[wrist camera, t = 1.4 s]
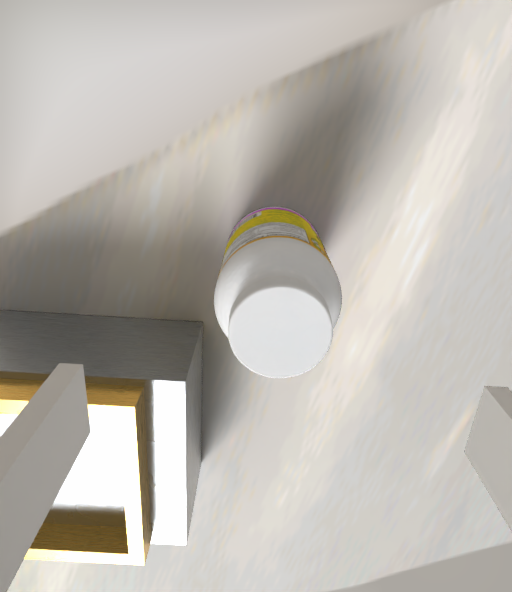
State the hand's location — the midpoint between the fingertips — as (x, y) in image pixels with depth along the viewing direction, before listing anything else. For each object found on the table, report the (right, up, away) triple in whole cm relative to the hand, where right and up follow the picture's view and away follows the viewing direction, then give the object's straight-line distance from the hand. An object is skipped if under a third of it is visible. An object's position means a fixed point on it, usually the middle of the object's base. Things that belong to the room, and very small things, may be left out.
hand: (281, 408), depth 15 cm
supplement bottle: (0, +7, +17) cm, 18 cm away
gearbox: (-16, -4, +21) cm, 27 cm away
